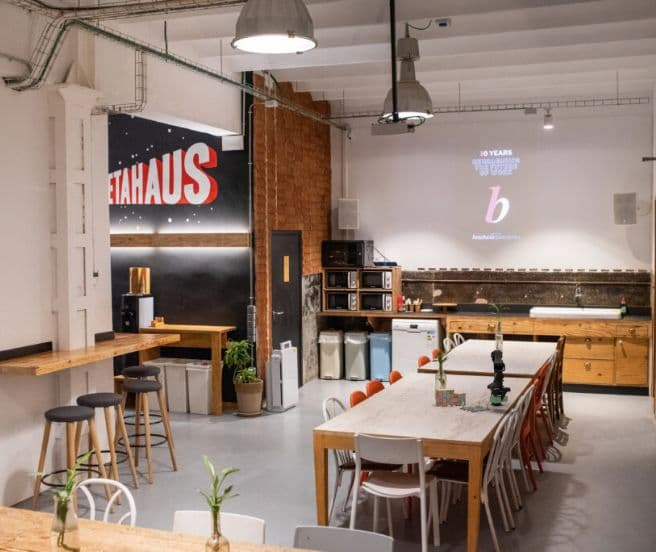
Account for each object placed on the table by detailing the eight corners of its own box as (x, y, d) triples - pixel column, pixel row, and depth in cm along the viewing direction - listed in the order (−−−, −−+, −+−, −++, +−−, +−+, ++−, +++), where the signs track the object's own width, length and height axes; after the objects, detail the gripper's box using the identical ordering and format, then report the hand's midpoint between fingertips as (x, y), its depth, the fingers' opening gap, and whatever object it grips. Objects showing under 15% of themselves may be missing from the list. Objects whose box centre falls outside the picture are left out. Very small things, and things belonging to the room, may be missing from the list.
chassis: (477, 406, 591) (477, 399, 591) (490, 410, 579) (490, 402, 579) (459, 409, 582) (459, 401, 582) (472, 412, 570) (472, 404, 570)
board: (501, 400, 582) (502, 394, 581) (507, 401, 576) (507, 395, 576) (489, 401, 575) (489, 395, 575) (495, 403, 570) (495, 397, 570)
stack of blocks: (462, 404, 603) (462, 387, 603) (465, 405, 597) (465, 389, 596) (435, 405, 598) (435, 388, 598) (438, 406, 592) (438, 390, 592)
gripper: (481, 377, 579) (481, 399, 580) (499, 381, 563) (499, 403, 564) (493, 376, 585) (492, 397, 585) (511, 379, 569) (511, 401, 569)
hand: (498, 400), depth 576 cm, fingers closed on board, 6 cm apart
